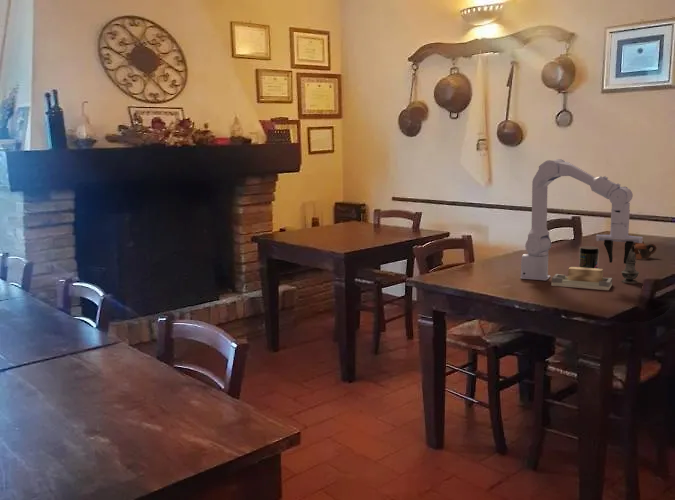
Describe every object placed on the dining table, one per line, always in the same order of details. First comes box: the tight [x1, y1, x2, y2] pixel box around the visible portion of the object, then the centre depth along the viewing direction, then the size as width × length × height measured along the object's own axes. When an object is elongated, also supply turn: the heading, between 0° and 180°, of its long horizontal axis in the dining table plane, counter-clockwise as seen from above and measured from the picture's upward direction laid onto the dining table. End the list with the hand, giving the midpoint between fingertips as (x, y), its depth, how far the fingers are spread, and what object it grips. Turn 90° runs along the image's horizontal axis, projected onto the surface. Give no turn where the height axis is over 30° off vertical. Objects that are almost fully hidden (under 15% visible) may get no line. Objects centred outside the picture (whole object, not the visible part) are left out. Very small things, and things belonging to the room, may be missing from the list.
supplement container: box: [578, 245, 600, 269], centre depth 253 cm, size 7×7×10 cm
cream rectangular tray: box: [550, 273, 613, 291], centre depth 237 cm, size 19×9×3 cm, turn 62°
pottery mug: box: [630, 241, 658, 260], centre depth 285 cm, size 12×10×8 cm
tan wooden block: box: [567, 266, 604, 282], centre depth 236 cm, size 11×4×5 cm, turn 62°
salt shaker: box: [620, 249, 640, 284], centre depth 240 cm, size 6×6×12 cm
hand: (617, 262), depth 230 cm, fingers open, 4 cm apart
